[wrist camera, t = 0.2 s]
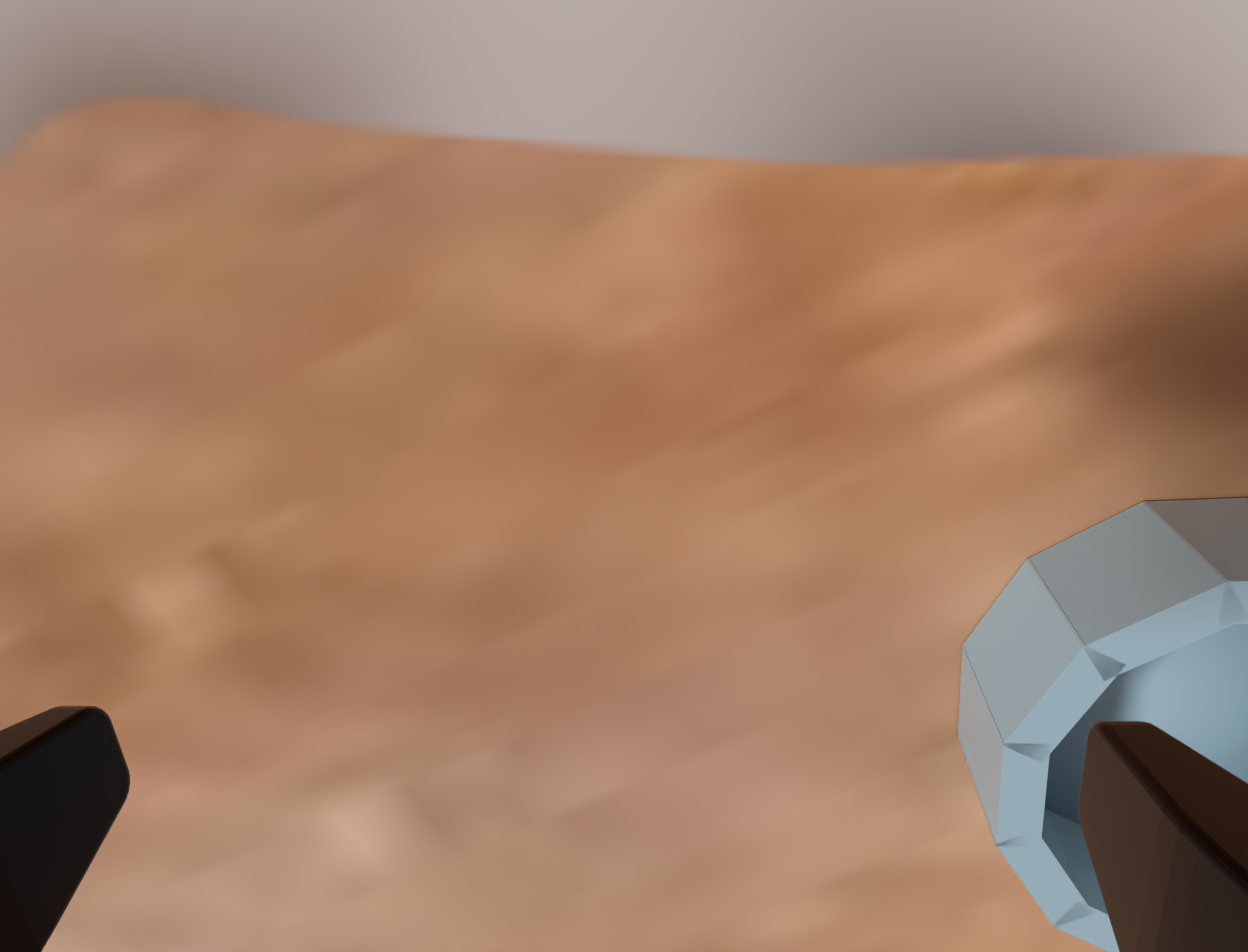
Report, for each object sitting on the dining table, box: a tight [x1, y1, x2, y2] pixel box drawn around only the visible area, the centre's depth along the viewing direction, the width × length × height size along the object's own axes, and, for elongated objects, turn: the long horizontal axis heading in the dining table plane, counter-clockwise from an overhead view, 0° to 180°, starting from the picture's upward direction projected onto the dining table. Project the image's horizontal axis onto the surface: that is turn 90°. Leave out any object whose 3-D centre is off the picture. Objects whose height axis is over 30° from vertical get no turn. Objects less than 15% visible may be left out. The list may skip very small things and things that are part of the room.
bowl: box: [958, 498, 1248, 952], centre depth 21 cm, size 11×11×4 cm
